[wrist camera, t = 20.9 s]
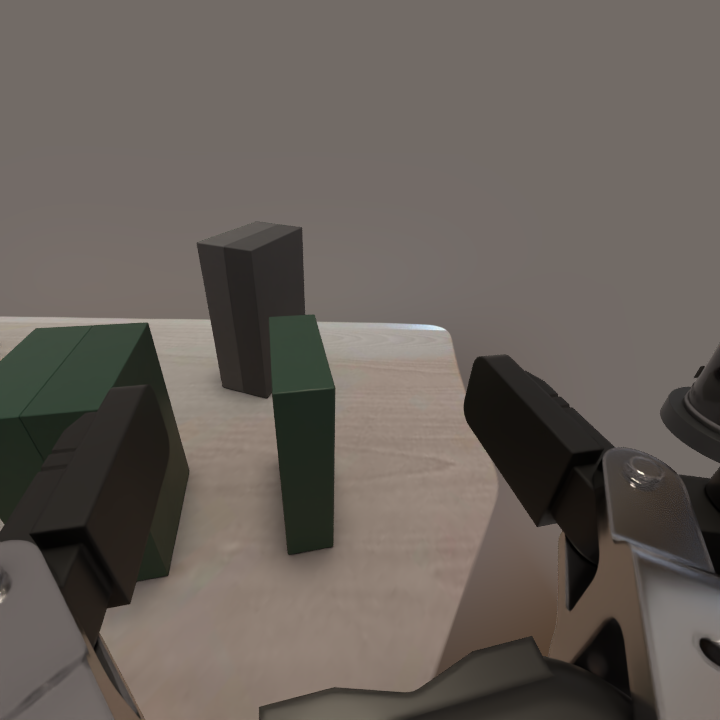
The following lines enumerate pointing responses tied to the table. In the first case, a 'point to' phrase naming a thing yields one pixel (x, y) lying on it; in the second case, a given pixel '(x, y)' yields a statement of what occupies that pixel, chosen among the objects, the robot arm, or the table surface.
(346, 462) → the table surface
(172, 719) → the table surface
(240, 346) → the grey faceted block
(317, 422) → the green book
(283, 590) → the table surface
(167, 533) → the green rectangular block
